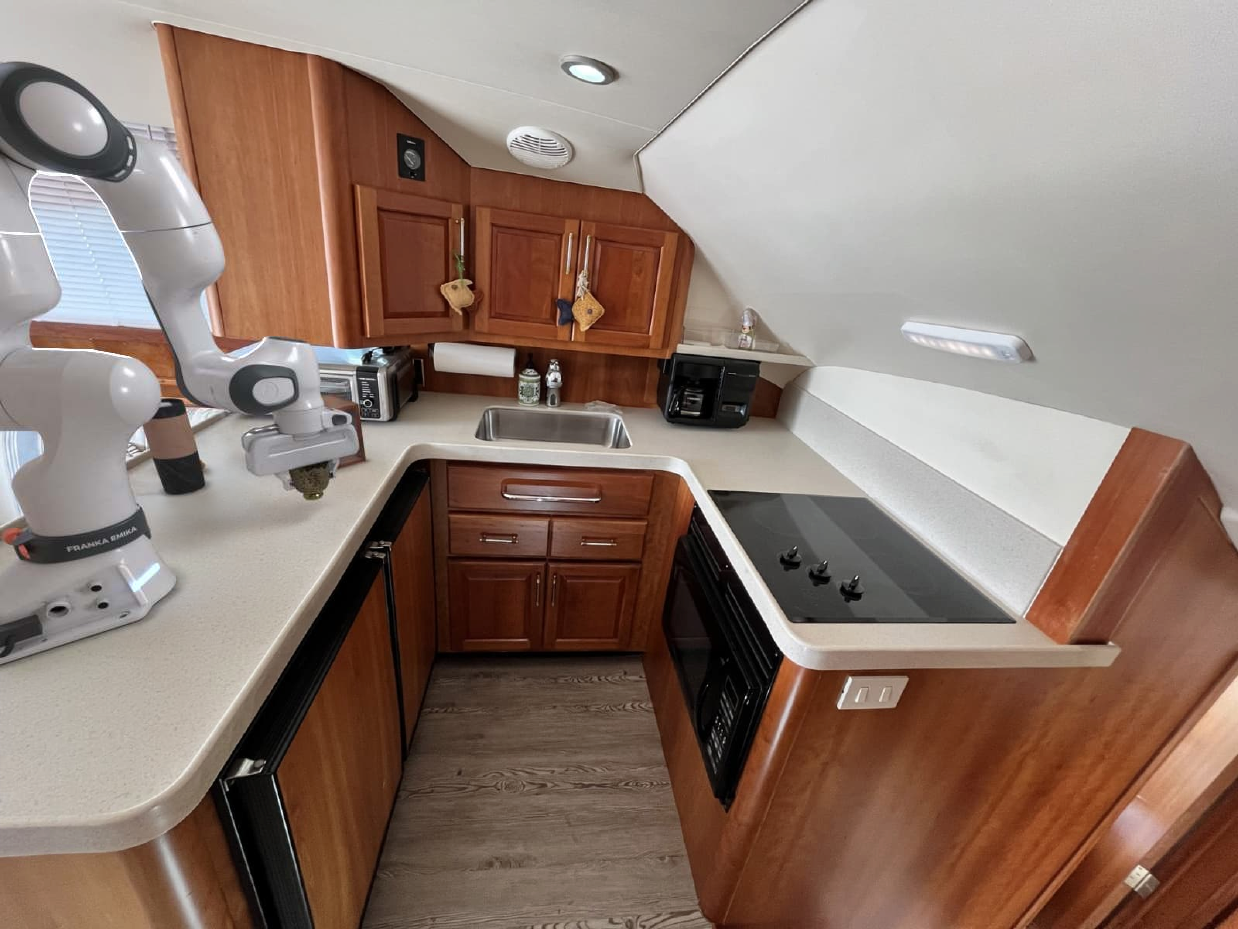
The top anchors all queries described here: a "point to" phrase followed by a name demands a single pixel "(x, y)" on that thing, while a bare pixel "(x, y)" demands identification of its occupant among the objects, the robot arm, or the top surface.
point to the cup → (311, 479)
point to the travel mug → (174, 448)
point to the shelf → (353, 410)
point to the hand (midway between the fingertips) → (311, 483)
